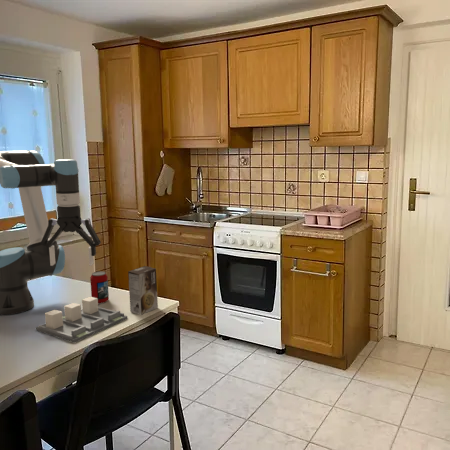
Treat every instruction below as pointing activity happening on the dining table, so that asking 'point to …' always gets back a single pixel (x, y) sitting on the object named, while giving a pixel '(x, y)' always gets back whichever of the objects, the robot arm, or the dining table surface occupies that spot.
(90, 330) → the switch board
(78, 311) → the beige block
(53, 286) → the dining table surface
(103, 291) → the beverage can
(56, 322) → the beige block
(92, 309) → the cream white block
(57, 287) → the dining table surface
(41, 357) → the dining table surface
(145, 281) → the coffee box
